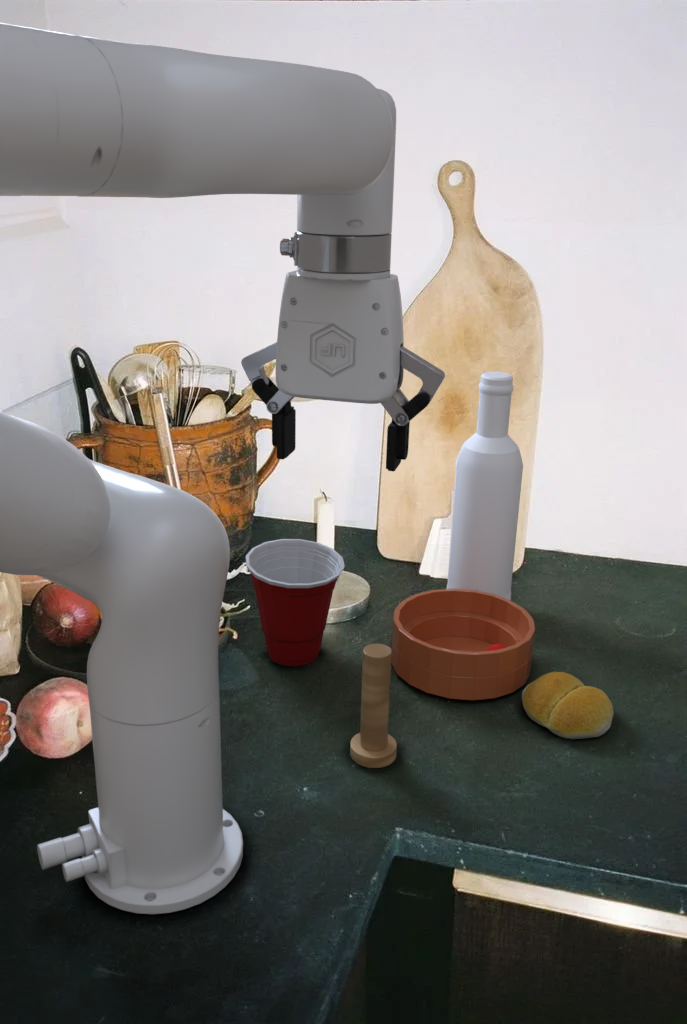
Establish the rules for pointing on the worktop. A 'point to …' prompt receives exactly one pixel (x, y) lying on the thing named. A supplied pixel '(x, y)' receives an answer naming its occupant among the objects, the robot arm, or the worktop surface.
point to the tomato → (495, 647)
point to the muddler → (375, 711)
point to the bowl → (462, 643)
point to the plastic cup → (293, 595)
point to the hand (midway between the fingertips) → (339, 460)
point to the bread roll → (567, 706)
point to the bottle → (487, 496)
